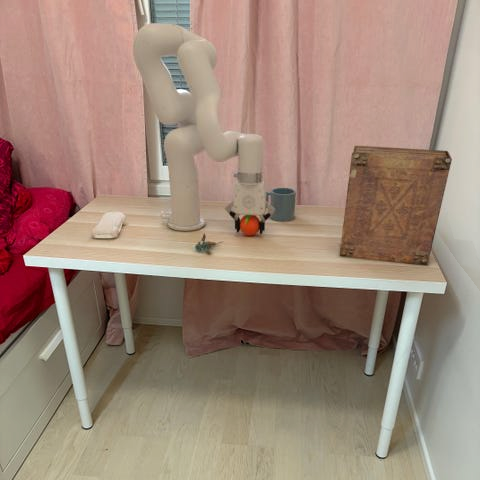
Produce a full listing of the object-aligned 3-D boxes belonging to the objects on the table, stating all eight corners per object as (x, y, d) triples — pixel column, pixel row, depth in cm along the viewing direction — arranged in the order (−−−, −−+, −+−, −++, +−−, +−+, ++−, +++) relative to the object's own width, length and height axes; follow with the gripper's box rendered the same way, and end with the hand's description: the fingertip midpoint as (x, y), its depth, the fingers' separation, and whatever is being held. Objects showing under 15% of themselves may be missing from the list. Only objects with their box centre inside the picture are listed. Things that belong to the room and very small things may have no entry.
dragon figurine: (200, 238, 151) (190, 237, 144) (220, 231, 149) (212, 230, 142) (205, 258, 152) (196, 258, 144) (226, 251, 149) (218, 251, 142)
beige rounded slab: (116, 239, 153) (114, 226, 151) (91, 239, 153) (89, 226, 151) (128, 221, 169) (126, 208, 166) (105, 220, 169) (104, 208, 167)
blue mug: (298, 216, 173) (300, 190, 168) (285, 222, 168) (286, 196, 163) (272, 209, 180) (273, 184, 175) (258, 215, 174) (258, 189, 169)
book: (338, 255, 143) (351, 151, 127) (341, 244, 150) (353, 145, 135) (427, 265, 137) (452, 157, 121) (426, 253, 144) (448, 150, 129)
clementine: (255, 241, 153) (255, 219, 149) (235, 238, 155) (235, 217, 151) (263, 232, 159) (263, 211, 156) (243, 230, 161) (243, 209, 158)
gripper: (220, 179, 145) (221, 234, 154) (277, 181, 143) (274, 237, 152) (225, 173, 152) (225, 226, 161) (279, 175, 149) (277, 229, 158)
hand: (249, 231), depth 156 cm, fingers closed on clementine, 7 cm apart
